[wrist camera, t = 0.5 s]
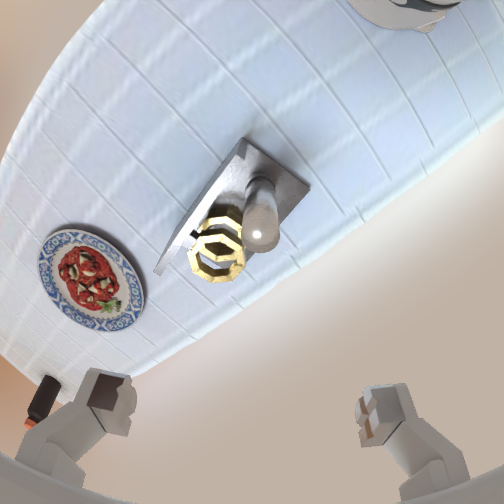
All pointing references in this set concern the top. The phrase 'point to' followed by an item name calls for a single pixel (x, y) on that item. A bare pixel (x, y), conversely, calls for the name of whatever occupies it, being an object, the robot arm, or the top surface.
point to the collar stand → (228, 214)
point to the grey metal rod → (260, 214)
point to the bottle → (42, 401)
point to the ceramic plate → (90, 281)
